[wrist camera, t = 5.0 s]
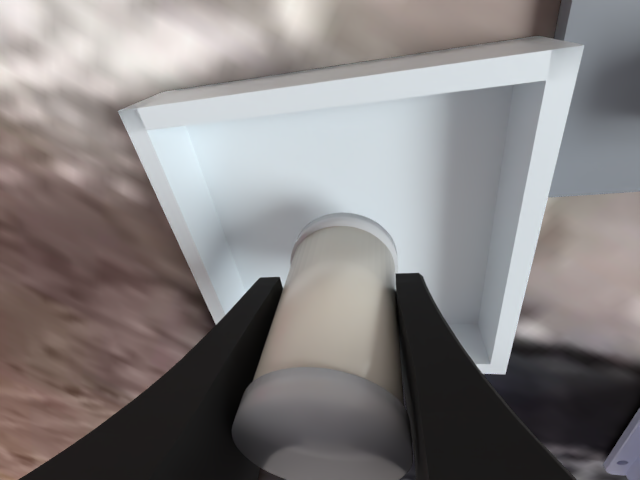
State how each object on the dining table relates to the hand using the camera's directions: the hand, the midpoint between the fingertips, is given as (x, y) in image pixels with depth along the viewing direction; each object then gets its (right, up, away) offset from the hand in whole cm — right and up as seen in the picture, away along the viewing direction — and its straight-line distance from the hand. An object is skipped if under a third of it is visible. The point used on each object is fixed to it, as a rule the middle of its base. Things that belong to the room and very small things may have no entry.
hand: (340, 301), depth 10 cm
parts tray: (+1, +2, +3) cm, 4 cm away
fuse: (0, +1, +1) cm, 2 cm away
